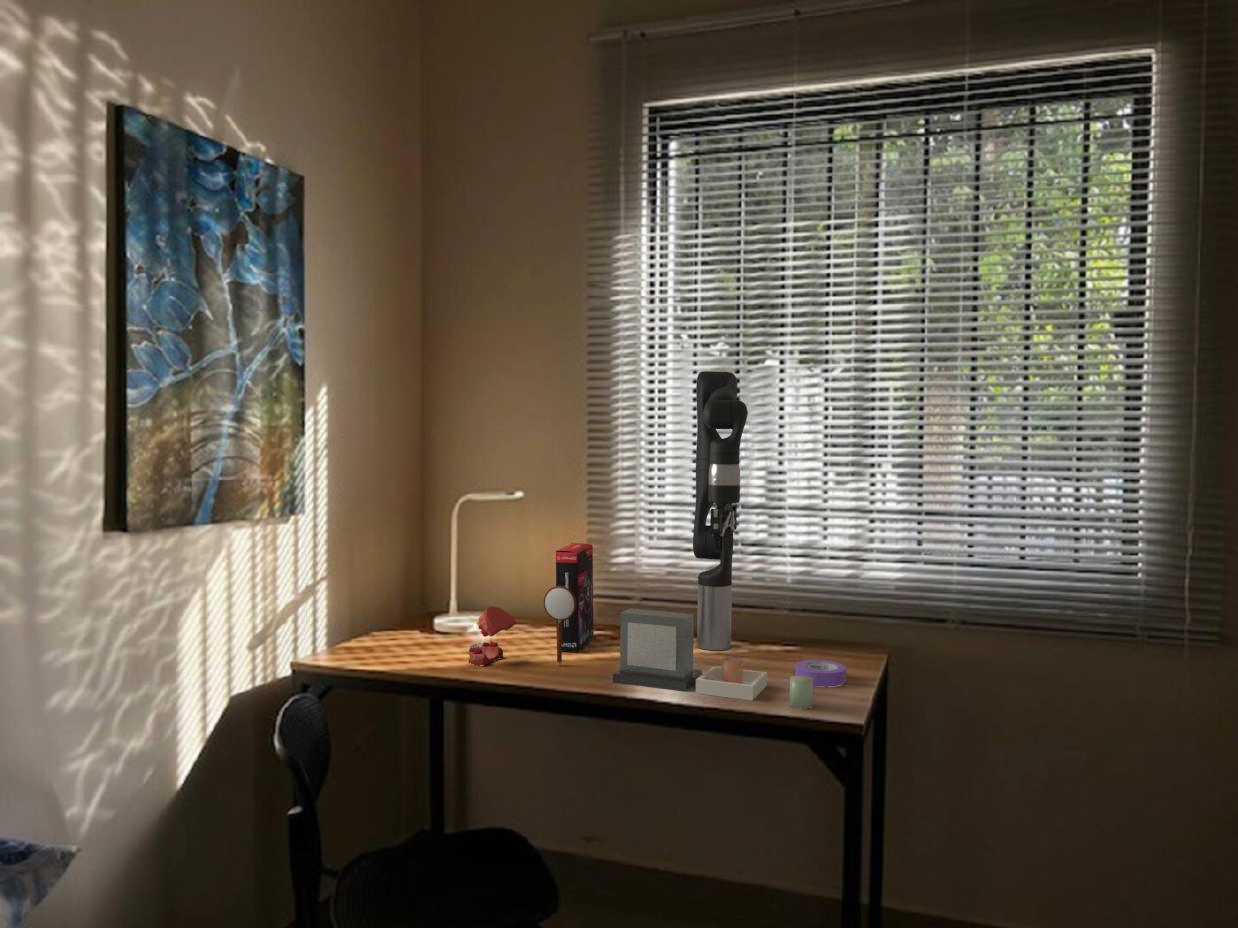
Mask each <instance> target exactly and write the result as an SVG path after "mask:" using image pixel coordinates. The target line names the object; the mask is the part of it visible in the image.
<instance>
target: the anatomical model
mask: <svg viewBox="0 0 1238 928" xmlns="http://www.w3.org/2000/svg"><path fill="white" fill-rule="evenodd" d="M516 623H517V621H516V620H515V619H514V618H513V617H512V616H511V615H510V614H509V613H507V612H506V611H505V610H504V609H502V608H500V607H498V606H493V605H491V606H489V607H487V608H486V609H485V610H484V612H483V614H481V615H479V617H478V618H477V620H476V623H475V624H476V625H477V627H478V629H479V631H480V633H481V634H482V636H483V637H493V636H496V635H497V634H498V633H499V632H501V631H508V630H510V629H511V628H513V627H514V626H515V625H516ZM498 645H499V644H498V642H495V641H490V642H489V641H487V642H486V641H485V642H483V643H481V642H478V643H475V644H470V646H468V650H467V651H468V656H469V658H468V663H469V664H470V663H471V664H470V665H472V664H474V665H473V666H476V665H485V666H487V665H486V664H488V665H490V664H492V663H494V662H493V661H495V660H497V659H499V658H501V659H503V658H504V650H503V648H502V647H501V646H498ZM499 660H500V659H499ZM497 661H498V660H497ZM491 662H492V663H491ZM495 662H496V661H495ZM489 663H490V664H489Z"/></svg>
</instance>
